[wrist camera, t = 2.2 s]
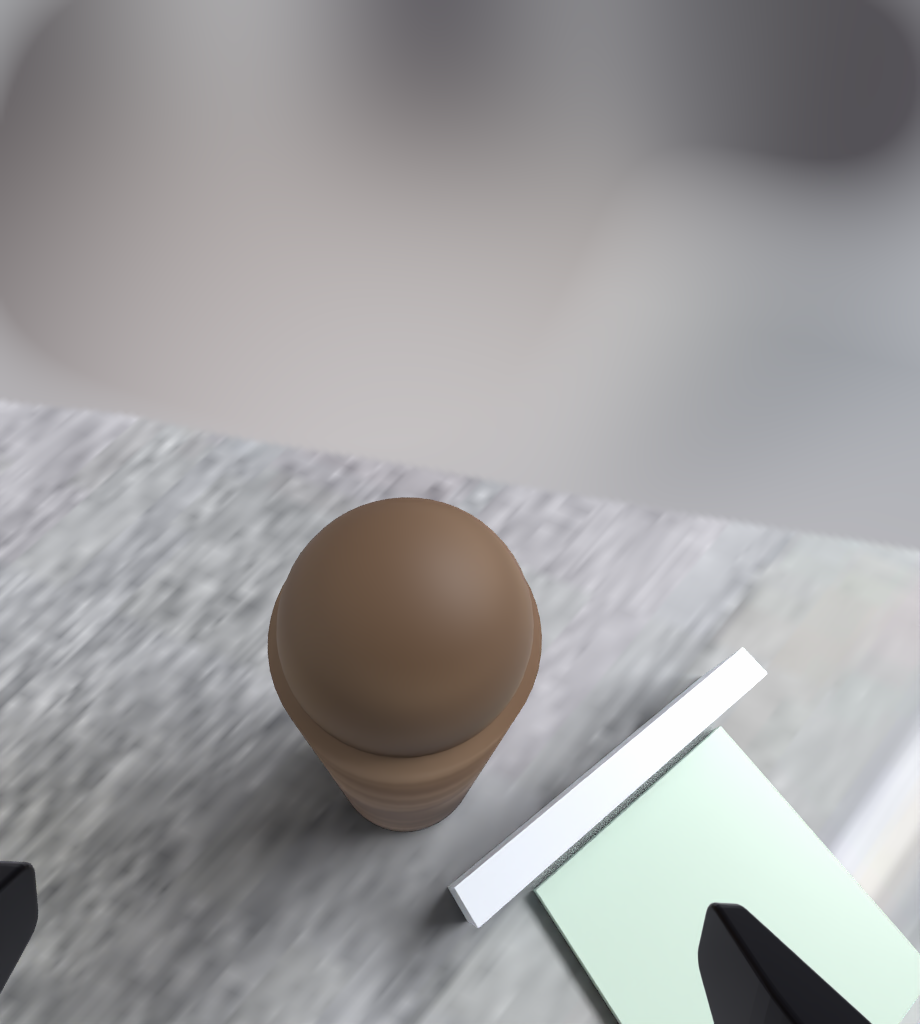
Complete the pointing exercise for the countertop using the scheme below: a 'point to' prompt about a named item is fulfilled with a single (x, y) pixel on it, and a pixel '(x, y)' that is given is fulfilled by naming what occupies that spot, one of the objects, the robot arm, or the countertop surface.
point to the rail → (601, 789)
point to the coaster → (719, 895)
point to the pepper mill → (404, 654)
